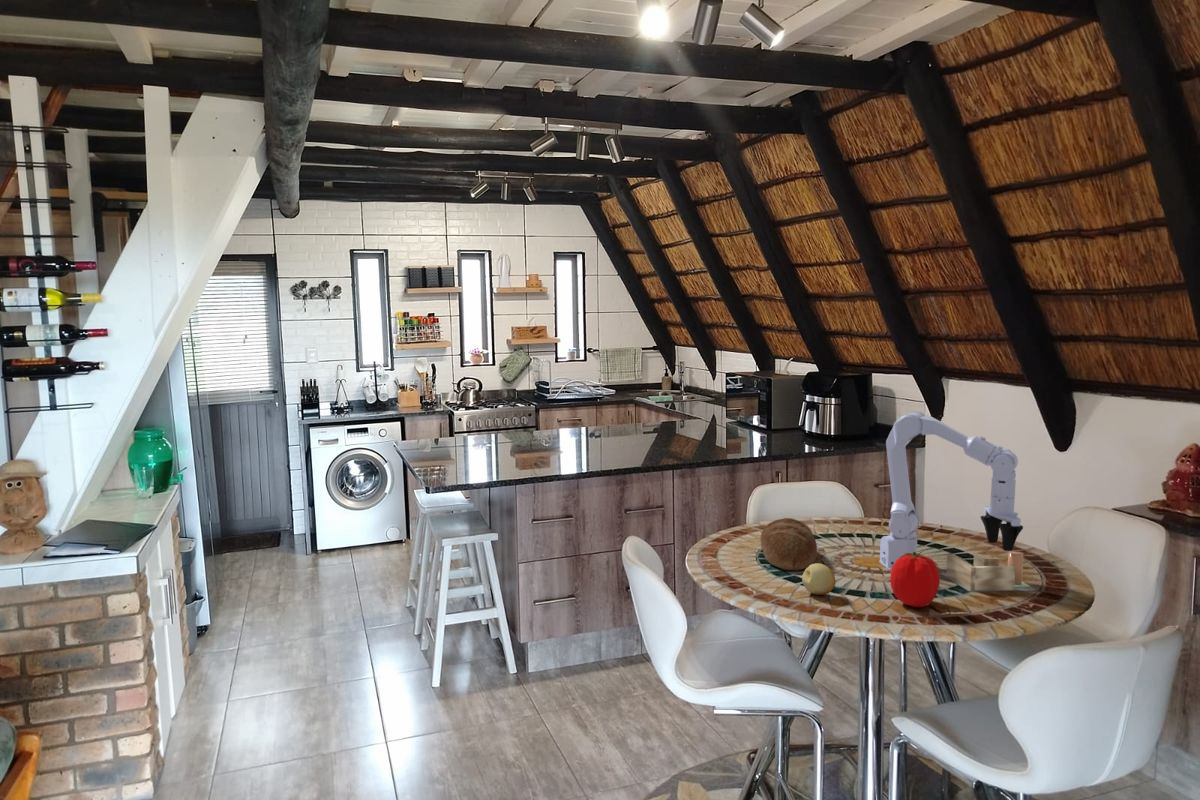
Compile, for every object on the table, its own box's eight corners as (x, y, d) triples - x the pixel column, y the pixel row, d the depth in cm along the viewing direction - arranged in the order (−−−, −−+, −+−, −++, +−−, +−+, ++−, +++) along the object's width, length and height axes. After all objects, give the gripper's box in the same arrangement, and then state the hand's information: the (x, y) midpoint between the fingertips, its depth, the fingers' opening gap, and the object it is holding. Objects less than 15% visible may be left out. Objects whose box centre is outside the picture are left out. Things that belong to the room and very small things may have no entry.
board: (968, 593, 211) (969, 591, 211) (939, 574, 227) (939, 572, 227) (1036, 592, 212) (1036, 590, 212) (1002, 573, 228) (1002, 571, 228)
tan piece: (970, 590, 212) (971, 567, 211) (946, 575, 224) (947, 553, 224) (1014, 589, 212) (1015, 567, 212) (987, 574, 225) (988, 553, 225)
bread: (808, 546, 257) (809, 510, 256) (822, 573, 228) (823, 533, 227) (757, 544, 259) (758, 508, 258) (764, 571, 230) (765, 531, 229)
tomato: (901, 614, 196) (903, 559, 194) (881, 597, 208) (882, 545, 207) (949, 613, 196) (951, 559, 195) (926, 596, 208) (928, 545, 207)
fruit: (803, 588, 215) (804, 558, 214) (836, 592, 212) (837, 561, 211) (799, 597, 208) (800, 566, 207) (833, 601, 205) (834, 569, 204)
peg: (1011, 584, 215) (1013, 554, 214) (1004, 580, 218) (1005, 551, 218) (1024, 584, 215) (1026, 554, 214) (1017, 580, 219) (1018, 551, 218)
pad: (1010, 587, 214) (1010, 586, 214) (1000, 581, 219) (1000, 580, 219) (1029, 587, 214) (1029, 585, 214) (1018, 581, 219) (1018, 579, 219)
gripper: (1033, 502, 211) (1030, 553, 213) (1002, 490, 226) (999, 539, 227) (1006, 502, 211) (1003, 554, 212) (977, 490, 225) (975, 539, 227)
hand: (999, 546), depth 220 cm, fingers open, 7 cm apart
